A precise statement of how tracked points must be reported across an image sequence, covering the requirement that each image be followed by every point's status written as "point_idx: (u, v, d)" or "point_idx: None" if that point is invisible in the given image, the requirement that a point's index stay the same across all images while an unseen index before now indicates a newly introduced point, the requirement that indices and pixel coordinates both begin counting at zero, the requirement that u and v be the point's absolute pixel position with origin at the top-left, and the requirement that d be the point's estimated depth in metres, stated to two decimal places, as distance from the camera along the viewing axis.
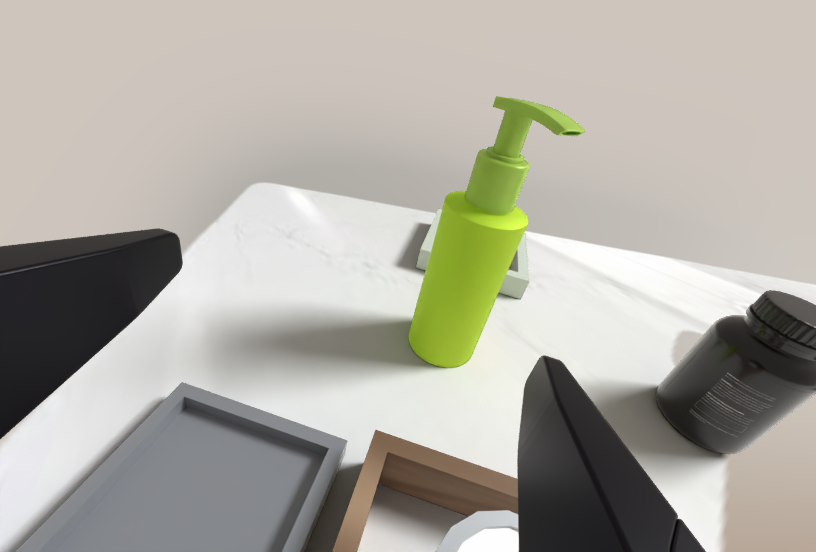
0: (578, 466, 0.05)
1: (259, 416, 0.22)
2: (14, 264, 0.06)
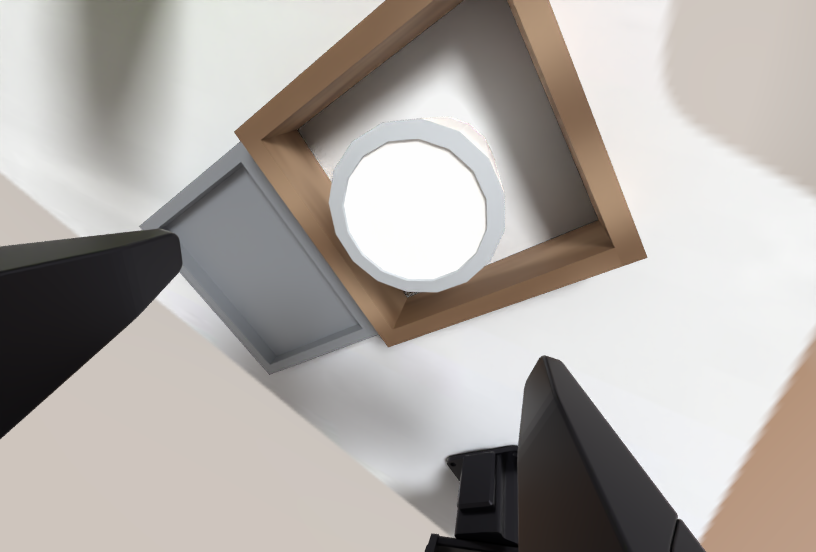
0: (578, 466, 0.05)
1: (189, 193, 0.22)
2: (14, 264, 0.06)
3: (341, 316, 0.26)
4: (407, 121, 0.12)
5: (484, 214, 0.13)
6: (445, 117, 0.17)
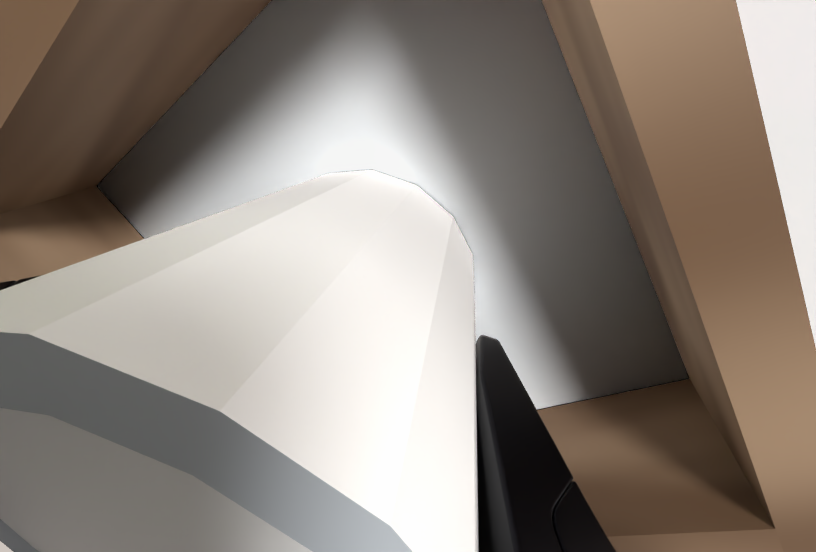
0: (487, 434, 0.05)
1: None
2: None
3: None
4: None
5: None
6: (347, 185, 0.07)
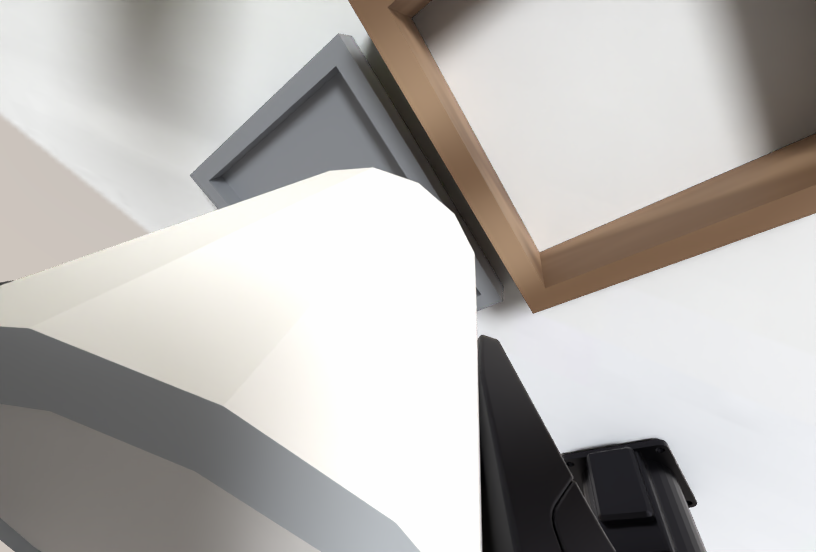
0: (487, 434, 0.05)
1: (259, 122, 0.17)
2: None
3: None
4: None
5: None
6: (349, 182, 0.07)
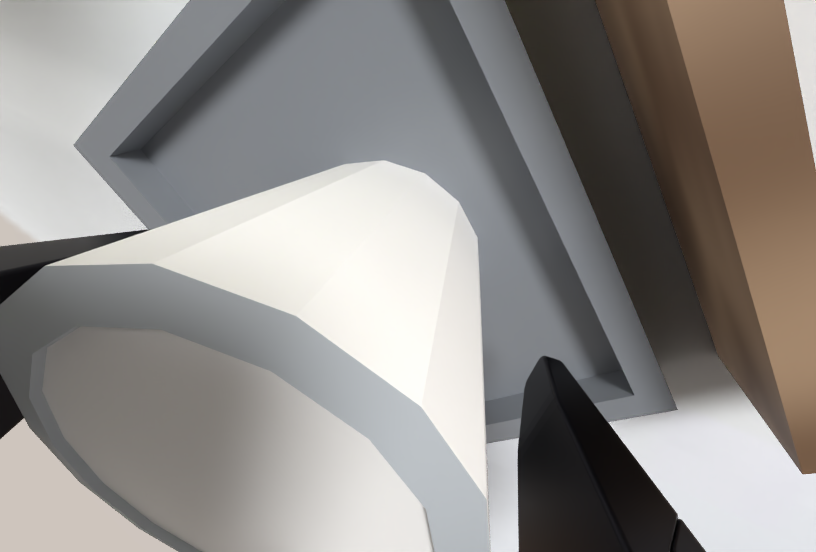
0: (578, 466, 0.05)
1: (198, 26, 0.08)
2: (14, 264, 0.06)
3: None
4: (115, 269, 0.03)
5: (425, 529, 0.04)
6: (364, 172, 0.08)
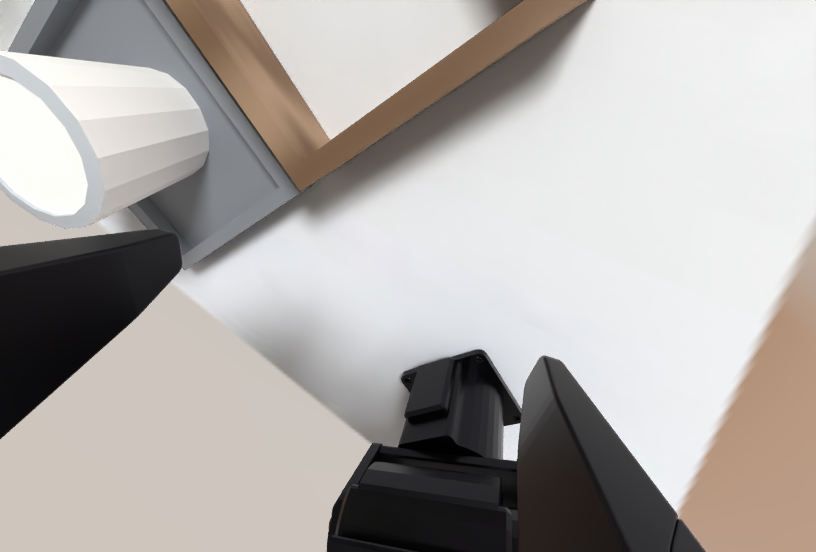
0: (578, 466, 0.05)
1: (46, 1, 0.18)
2: (14, 264, 0.06)
3: (258, 180, 0.21)
4: None
5: (74, 143, 0.14)
6: (119, 64, 0.17)
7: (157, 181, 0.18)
